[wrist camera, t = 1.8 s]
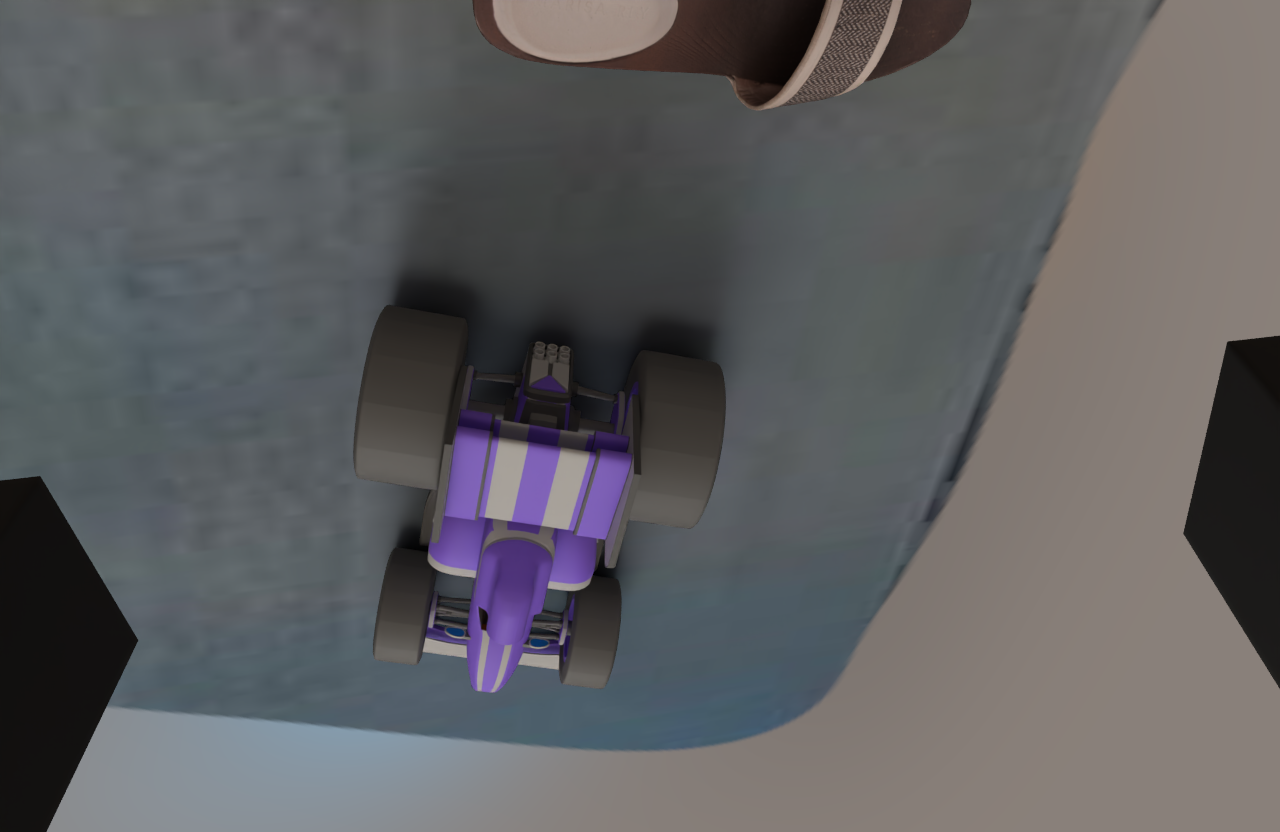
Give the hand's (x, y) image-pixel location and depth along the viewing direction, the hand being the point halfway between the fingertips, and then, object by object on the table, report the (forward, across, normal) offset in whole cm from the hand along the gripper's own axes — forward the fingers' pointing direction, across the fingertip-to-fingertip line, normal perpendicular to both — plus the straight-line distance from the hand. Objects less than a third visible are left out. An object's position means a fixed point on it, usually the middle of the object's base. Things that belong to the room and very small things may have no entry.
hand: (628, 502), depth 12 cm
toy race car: (+18, -5, -14) cm, 23 cm away
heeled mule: (+17, +2, +1) cm, 18 cm away
